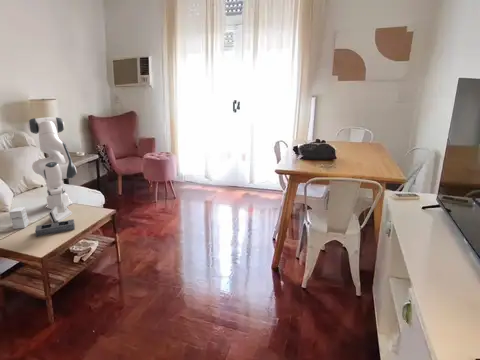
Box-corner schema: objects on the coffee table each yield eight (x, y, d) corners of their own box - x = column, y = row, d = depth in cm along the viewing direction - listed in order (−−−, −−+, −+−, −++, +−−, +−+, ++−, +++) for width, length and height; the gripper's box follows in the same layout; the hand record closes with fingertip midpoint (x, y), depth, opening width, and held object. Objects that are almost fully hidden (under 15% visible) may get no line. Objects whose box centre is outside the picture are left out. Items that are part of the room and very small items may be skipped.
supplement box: (13, 229, 227) (8, 211, 223) (17, 224, 234) (13, 207, 230) (25, 228, 229) (21, 210, 225) (29, 223, 236) (25, 206, 232)
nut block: (57, 211, 223) (55, 200, 220) (65, 210, 224) (62, 199, 222) (57, 213, 219) (55, 202, 217) (64, 212, 221) (62, 201, 218)
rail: (37, 231, 223) (36, 225, 222) (74, 224, 232) (73, 219, 230) (36, 236, 216) (35, 231, 214) (74, 229, 224) (73, 223, 223)
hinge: (58, 222, 235) (51, 210, 233) (53, 224, 236) (45, 212, 234) (72, 213, 251) (66, 201, 249) (67, 215, 252) (61, 203, 250)
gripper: (51, 184, 225) (56, 203, 229) (49, 193, 207) (54, 214, 211) (62, 182, 227) (66, 202, 231) (61, 191, 209) (65, 212, 213)
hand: (60, 208), depth 221 cm, fingers closed on nut block, 4 cm apart
